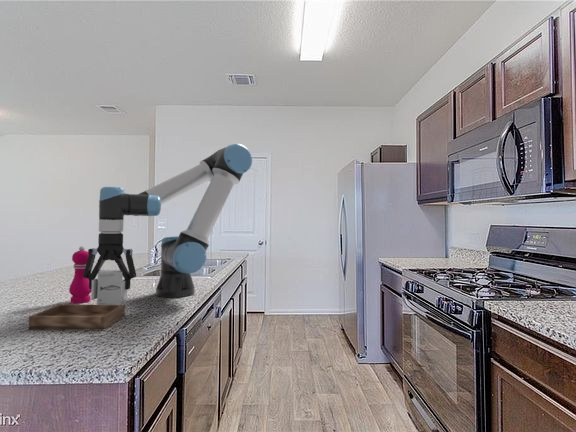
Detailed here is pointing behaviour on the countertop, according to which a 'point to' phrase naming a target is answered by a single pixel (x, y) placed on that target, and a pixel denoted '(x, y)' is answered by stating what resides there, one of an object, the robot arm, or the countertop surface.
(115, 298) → the supplement box
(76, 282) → the pepper mill
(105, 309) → the walnut caddy
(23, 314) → the countertop surface
